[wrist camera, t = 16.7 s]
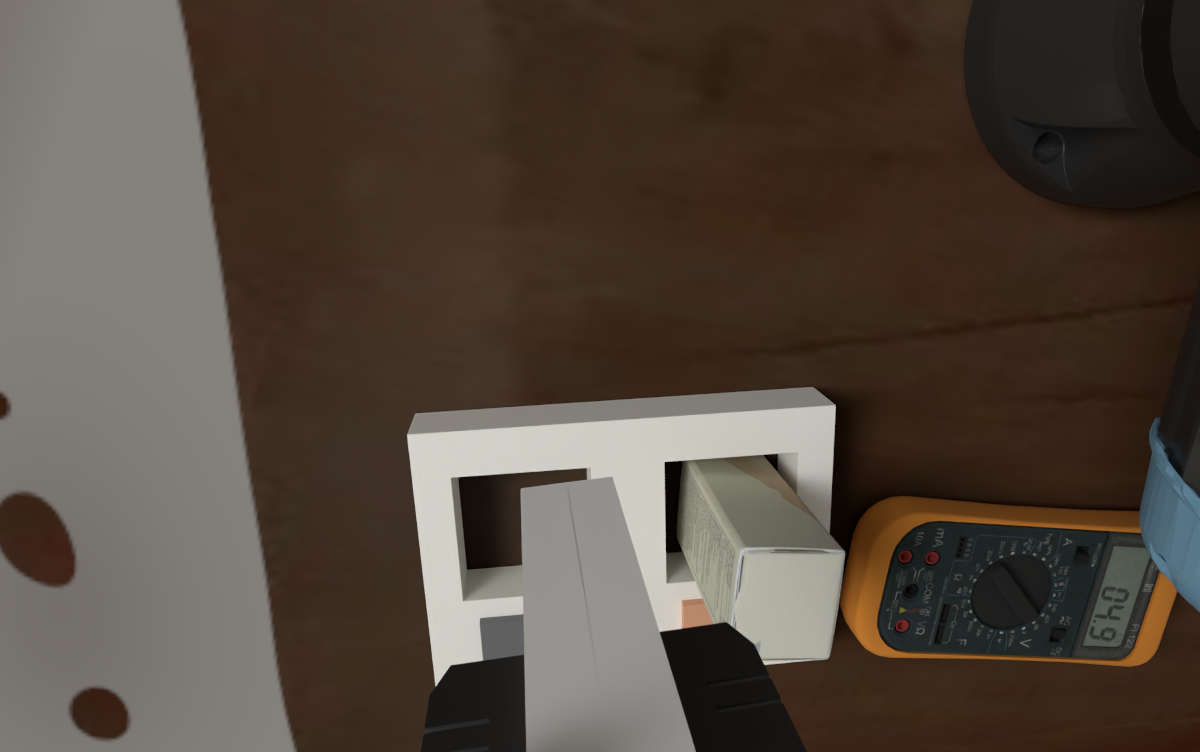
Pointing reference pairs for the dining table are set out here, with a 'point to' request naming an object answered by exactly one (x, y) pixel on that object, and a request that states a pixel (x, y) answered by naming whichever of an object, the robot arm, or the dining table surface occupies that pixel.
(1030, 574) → the multimeter
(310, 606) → the dining table surface
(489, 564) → the dining table surface
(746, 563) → the box
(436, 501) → the socket board
